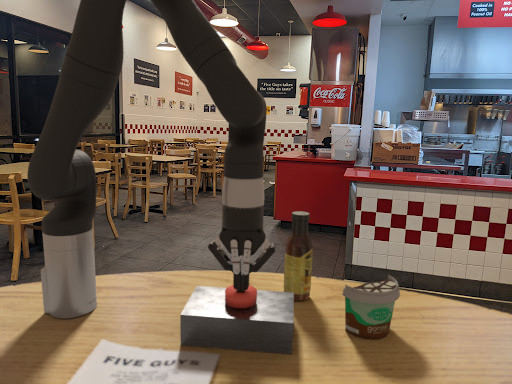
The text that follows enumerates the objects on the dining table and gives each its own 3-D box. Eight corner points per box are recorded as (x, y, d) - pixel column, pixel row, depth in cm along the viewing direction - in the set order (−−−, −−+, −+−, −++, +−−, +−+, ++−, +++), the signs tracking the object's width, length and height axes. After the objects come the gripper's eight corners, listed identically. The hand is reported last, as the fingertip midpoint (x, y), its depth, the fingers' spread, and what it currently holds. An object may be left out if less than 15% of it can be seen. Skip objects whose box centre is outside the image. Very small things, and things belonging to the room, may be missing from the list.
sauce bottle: (309, 304, 87) (314, 218, 83) (281, 300, 88) (285, 215, 84) (311, 291, 93) (315, 211, 89) (285, 288, 94) (288, 209, 91)
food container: (361, 350, 70) (366, 298, 68) (339, 333, 75) (343, 284, 74) (409, 334, 76) (415, 286, 74) (385, 319, 81) (390, 274, 79)
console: (180, 345, 70) (180, 314, 69) (196, 312, 82) (196, 285, 80) (292, 354, 68) (293, 323, 67) (292, 319, 80) (293, 292, 79)
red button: (222, 331, 72) (222, 296, 71) (227, 315, 78) (227, 283, 76) (254, 334, 71) (255, 299, 70) (257, 317, 77) (258, 285, 76)
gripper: (202, 204, 67) (202, 297, 70) (279, 207, 66) (275, 302, 69) (211, 195, 74) (210, 280, 77) (280, 198, 73) (277, 284, 76)
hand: (241, 290), depth 73 cm, fingers closed
